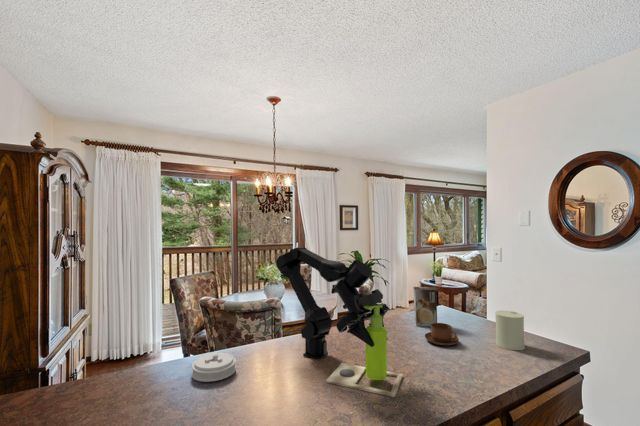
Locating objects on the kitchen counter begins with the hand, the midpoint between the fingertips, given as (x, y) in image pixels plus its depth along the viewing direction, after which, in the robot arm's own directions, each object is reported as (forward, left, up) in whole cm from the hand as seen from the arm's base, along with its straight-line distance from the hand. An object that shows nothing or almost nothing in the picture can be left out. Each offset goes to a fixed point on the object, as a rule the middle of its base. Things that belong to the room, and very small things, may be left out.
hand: (380, 343), depth 90 cm
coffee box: (+6, +59, -11) cm, 61 cm away
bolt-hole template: (-4, 0, -11) cm, 12 cm away
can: (+37, +46, -11) cm, 60 cm away
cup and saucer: (+14, +40, -12) cm, 44 cm away
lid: (-47, -15, -12) cm, 51 cm away
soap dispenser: (-2, 0, -9) cm, 10 cm away
